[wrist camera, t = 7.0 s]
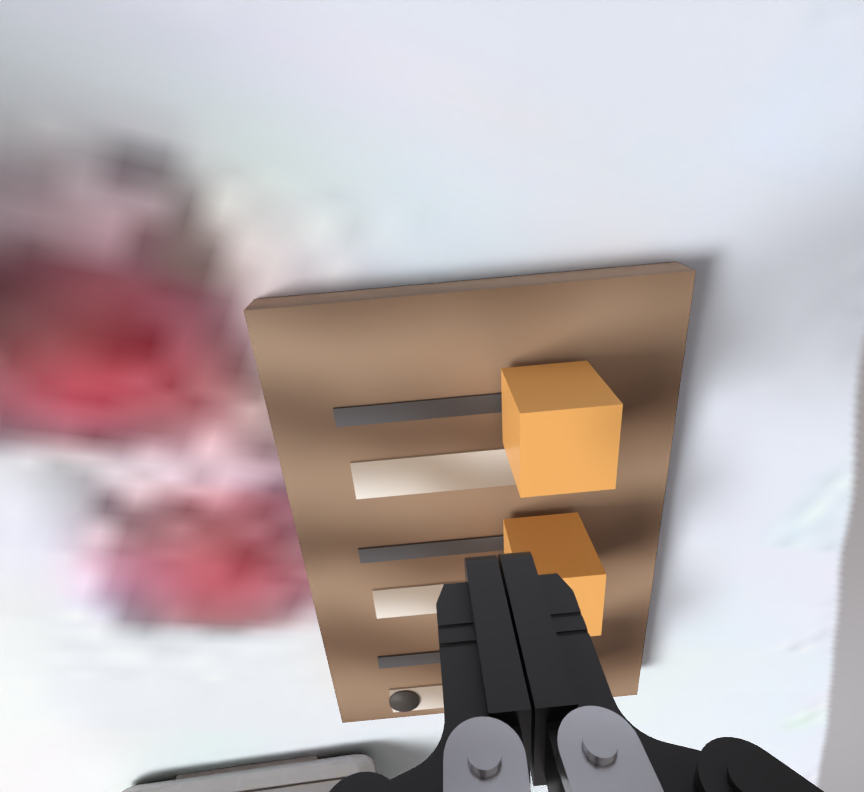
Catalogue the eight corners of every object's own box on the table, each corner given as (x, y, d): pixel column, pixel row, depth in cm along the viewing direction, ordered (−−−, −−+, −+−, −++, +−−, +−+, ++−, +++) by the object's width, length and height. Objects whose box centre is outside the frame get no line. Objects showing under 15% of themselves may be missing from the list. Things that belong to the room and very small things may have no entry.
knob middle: (503, 519, 23) (519, 582, 20) (577, 512, 23) (606, 574, 20) (504, 575, 24) (520, 643, 21) (574, 568, 24) (601, 635, 21)
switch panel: (254, 299, 20) (242, 312, 19) (676, 261, 20) (698, 272, 19) (345, 696, 30) (342, 726, 29) (626, 669, 30) (638, 698, 29)
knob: (501, 368, 20) (520, 413, 16) (587, 360, 20) (622, 404, 16) (502, 442, 21) (520, 497, 18) (582, 435, 21) (615, 489, 18)
